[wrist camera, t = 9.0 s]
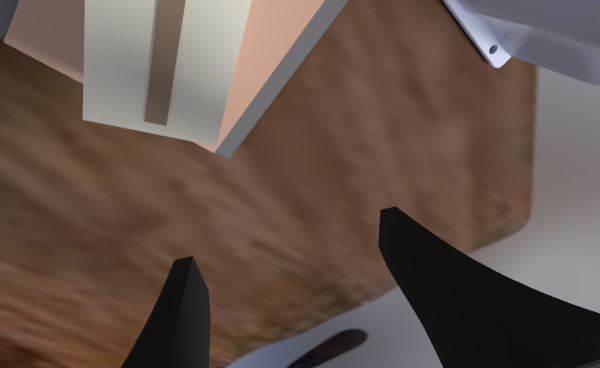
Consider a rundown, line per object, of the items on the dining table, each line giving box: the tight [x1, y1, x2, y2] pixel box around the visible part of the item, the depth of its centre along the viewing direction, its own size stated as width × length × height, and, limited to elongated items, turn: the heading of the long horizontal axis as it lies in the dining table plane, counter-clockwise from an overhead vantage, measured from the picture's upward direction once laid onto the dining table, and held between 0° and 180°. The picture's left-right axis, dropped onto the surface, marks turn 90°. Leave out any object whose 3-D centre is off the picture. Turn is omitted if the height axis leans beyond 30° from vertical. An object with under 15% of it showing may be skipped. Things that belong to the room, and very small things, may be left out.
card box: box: [83, 0, 252, 146], centre depth 13 cm, size 8×5×4 cm, turn 160°
